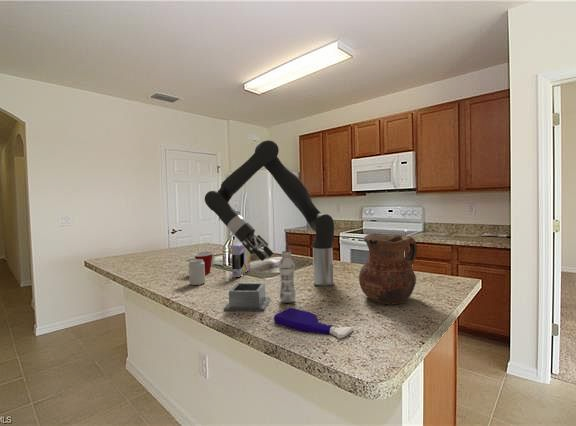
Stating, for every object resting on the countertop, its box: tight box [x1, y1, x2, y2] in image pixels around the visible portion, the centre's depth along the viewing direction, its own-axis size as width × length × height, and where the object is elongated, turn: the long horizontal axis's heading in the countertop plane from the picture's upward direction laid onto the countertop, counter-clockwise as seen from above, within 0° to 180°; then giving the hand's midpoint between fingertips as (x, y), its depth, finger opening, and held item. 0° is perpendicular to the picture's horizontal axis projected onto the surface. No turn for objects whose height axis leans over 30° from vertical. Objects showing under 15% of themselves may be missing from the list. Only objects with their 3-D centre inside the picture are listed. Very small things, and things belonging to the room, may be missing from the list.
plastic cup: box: [193, 250, 214, 275], centre depth 171 cm, size 11×11×12 cm
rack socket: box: [223, 282, 271, 312], centre depth 117 cm, size 15×13×7 cm
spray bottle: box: [273, 307, 354, 340], centre depth 96 cm, size 3×11×24 cm
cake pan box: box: [231, 241, 251, 278], centre depth 167 cm, size 19×5×18 cm, turn 168°
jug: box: [358, 233, 418, 305], centre depth 119 cm, size 22×21×25 cm
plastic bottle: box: [278, 250, 297, 304], centre depth 119 cm, size 6×7×20 cm
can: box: [188, 258, 206, 286], centre depth 149 cm, size 8×8×12 cm
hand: (268, 257), depth 121 cm, fingers open, 8 cm apart
